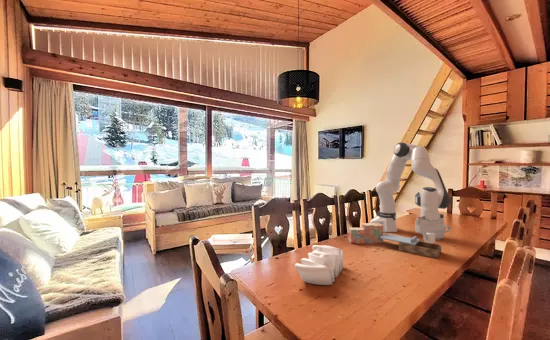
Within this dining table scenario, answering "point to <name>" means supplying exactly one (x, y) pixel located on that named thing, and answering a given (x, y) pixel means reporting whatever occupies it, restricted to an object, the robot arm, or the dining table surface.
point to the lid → (400, 239)
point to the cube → (430, 238)
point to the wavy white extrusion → (321, 265)
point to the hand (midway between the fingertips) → (429, 238)
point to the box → (422, 249)
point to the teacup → (441, 233)
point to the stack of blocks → (366, 233)
